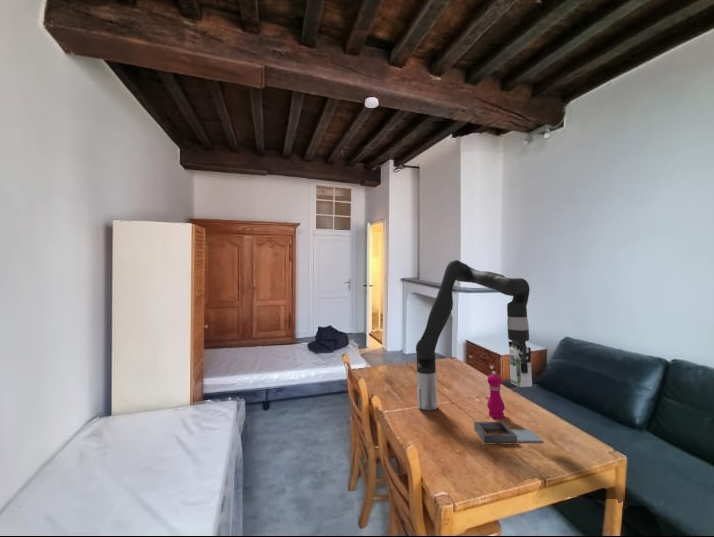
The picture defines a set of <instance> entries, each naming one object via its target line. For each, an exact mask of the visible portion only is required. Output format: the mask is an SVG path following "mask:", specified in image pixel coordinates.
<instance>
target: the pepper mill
mask: <svg viewBox="0 0 714 537" xmlns="http://www.w3.org/2000/svg"><path fill="white" fill-rule="evenodd" d="M486 380H487V383H488V389H489V390H490V392H489V397H488V401H487V403H486V405H487V406H486V407H487V409H489V410H488V416H489V417H490V418H492V419H497V420H501V419H504V417H505V413H504V412H503V411H505V408H506V407H505V403H504V401H503V399H502V395H501V390H502V387H501V385H502V384H503V381H502V378H501V376H499V375H498V374H497V372H496V371H494V370H493V371H492V372H491V374H489V375H488V376H487V379H486Z"/></svg>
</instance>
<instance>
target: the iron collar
mask: <svg viewBox="0 0 714 537" xmlns="http://www.w3.org/2000/svg"><path fill="white" fill-rule="evenodd" d="M473 429H474V431H475V432H477V433H476V434H477V435H478V437H479V436H480V437H479V438H480V440H481V439H482V440H483V441H482V440H481V441H482V442H484V443H496V444H495V445H501V444H500V443H517V444H518V441H517V436H516V434H515V433H514V432H513V431H512V430H513V429H511V428H510V427H509V426H508V425H507V424H506V423H505V422H504V421H473ZM487 432H502V433H487ZM484 443H483V444H484Z"/></svg>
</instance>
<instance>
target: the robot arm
mask: <svg viewBox="0 0 714 537" xmlns="http://www.w3.org/2000/svg"><path fill="white" fill-rule="evenodd" d="M456 281H457V282H461V283H471V284H476V285H479V286H483V287H484V288H485V287H486V288H488V289H491V290H495V291H497V292H499V293H500V294H503V295H505V296H510V297H512V300H511V301H509V302H508V303H507V304H506V307H507V308H506V313H507V315H506V316H507V320H506V321H507V322H506V324H507V325H506V326H507V339H508V340H509V341H508V348H509V347H513V348H515V349H520V351H521V352H523V355H521V354H520V353H519V357H520V362H521V372H522V373H528V366H527V363H531V364H532V355H531V354H532V353H531V352H532V348H531V347H530V346H528V347H527V344H526V342H528V341H529V340H530V330H529V329H530V328H529V319H528V310H527V305H528V302H529V297H530V284H529V283H528V281H527V280H526V279H524V278H522V277H519V278H512V277H511V278H510V277H506V276H505V275H503V274H500V273H496V272H493V271H485V270H484V271H482V270H479V269H478V270H477V269H475V268H473V267H471V266H469V265H468V264H467V263H464V262H462V261H460V260H458V259H453V260H451V261H450V262H448V264H447V266H446V268H445V271H444V274H443V277H442V281H441V284H440V287H439V289H438V292H437V295H436V297H435V300H434V302H433V304H432V307H431V309H430V311H429V315H428V318H427V322H426V325H425V326H426V327H425V329H424V331H423V333H422V336H421V338H420V339H419V340H418V341H417V343H416V344H415V352H416V377H417V378H416V380H417V385H416V395H417V406H418V408H419V410H424V411H434V410H437V409H438V393H437V369H436V368H437V363H436V347H437V344H438V341H439V338H440V336H441V334H442V332H443V330H444V328H445V326H446V324H447V323H448V320H449V318H450V315H451V313H452V310H453V309H454V308H453V307H454V301H453V300H454V299H453V290H454V289H453V288H454V285H455V283H456ZM522 357H523V359H522ZM527 357H528V358H527Z"/></svg>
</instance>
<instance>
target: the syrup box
mask: <svg viewBox="0 0 714 537" xmlns="http://www.w3.org/2000/svg"><path fill="white" fill-rule="evenodd" d="M508 350H509V352H508V353H509V374H510V384H513V385H515V386H516V387H518V388H527V387H528V388H529V387H532V386H533V378H532V377H533V376H532V375H533V374H532V362H531V363H527V366H528V373H522V372H521V362H520V357H519V353H520V354H521V355H523V352H521V351H520V349H515V348H513V347H509V346H508ZM527 358H528V357H527ZM522 359H523V357H522Z"/></svg>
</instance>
